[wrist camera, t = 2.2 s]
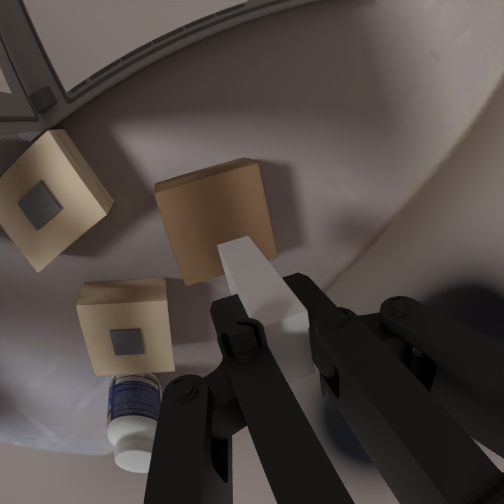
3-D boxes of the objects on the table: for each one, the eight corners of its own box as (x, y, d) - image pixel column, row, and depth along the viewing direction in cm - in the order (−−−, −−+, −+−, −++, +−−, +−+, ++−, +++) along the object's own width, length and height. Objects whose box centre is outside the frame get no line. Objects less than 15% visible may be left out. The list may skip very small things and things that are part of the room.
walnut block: (181, 263, 26) (185, 286, 22) (155, 183, 23) (154, 193, 19) (261, 238, 27) (277, 256, 24) (243, 157, 24) (257, 163, 21)
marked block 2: (100, 346, 27) (95, 376, 23) (85, 280, 24) (75, 306, 20) (171, 342, 29) (175, 372, 25) (165, 276, 26) (167, 301, 22)
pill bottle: (102, 369, 27) (95, 449, 19) (152, 361, 29) (158, 442, 20) (120, 404, 30) (121, 478, 21) (166, 396, 31) (177, 472, 22)
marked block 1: (53, 252, 22) (37, 274, 19) (5, 186, 19) (-19, 198, 15) (114, 200, 23) (106, 215, 19) (65, 129, 19) (47, 130, 16)
